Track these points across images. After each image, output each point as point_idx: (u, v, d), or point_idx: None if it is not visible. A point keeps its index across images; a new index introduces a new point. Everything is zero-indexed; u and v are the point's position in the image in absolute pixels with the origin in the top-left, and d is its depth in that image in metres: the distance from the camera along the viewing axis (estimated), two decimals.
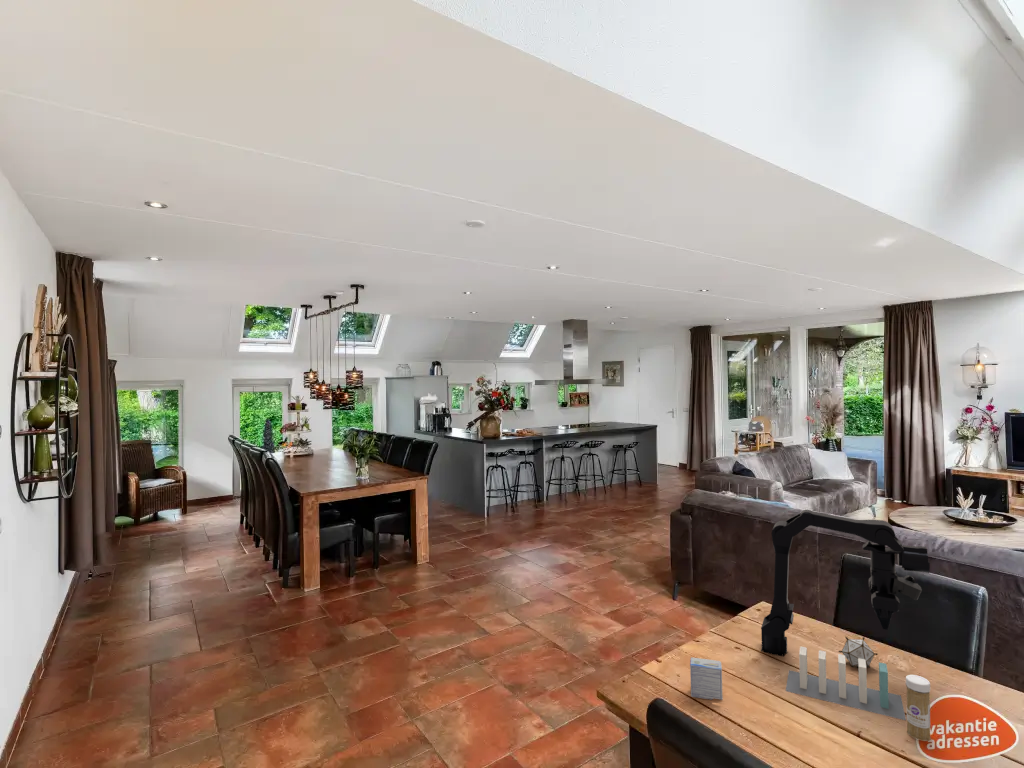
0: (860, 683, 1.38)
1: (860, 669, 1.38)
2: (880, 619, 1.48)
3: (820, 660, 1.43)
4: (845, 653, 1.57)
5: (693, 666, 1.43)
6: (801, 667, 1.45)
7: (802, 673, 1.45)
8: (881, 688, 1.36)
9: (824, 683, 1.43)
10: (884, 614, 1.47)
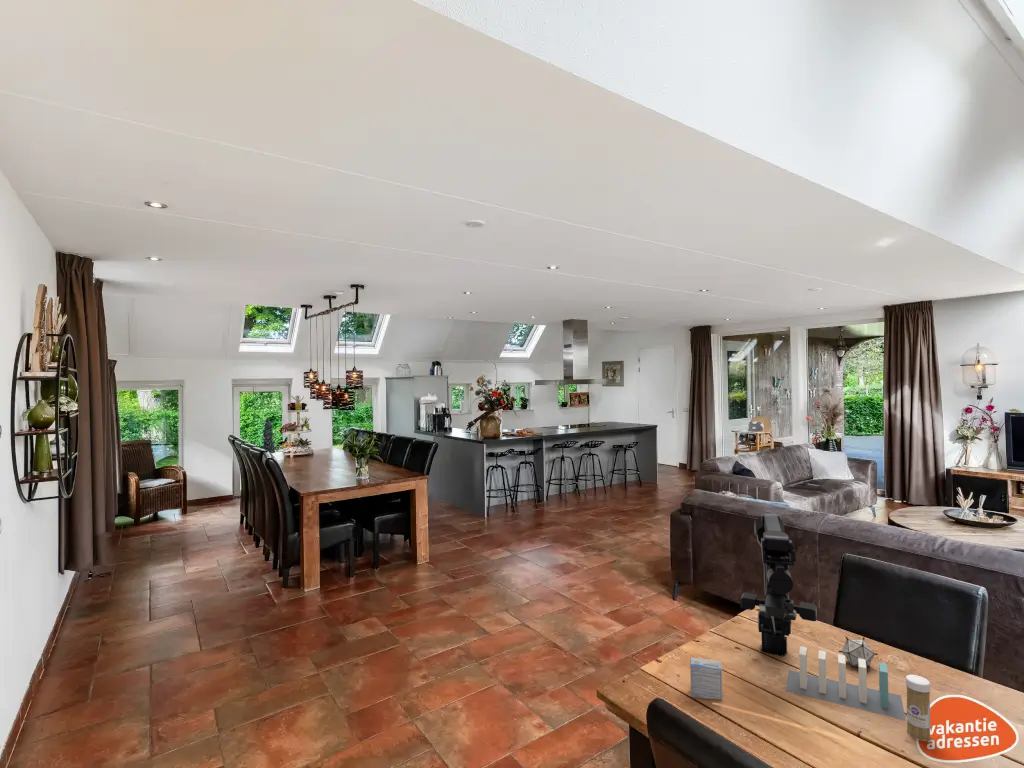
0: (860, 683, 1.38)
1: (860, 669, 1.38)
2: None
3: (820, 660, 1.43)
4: (845, 653, 1.57)
5: (693, 666, 1.43)
6: (801, 667, 1.45)
7: (802, 673, 1.45)
8: (881, 688, 1.36)
9: (824, 683, 1.43)
10: None
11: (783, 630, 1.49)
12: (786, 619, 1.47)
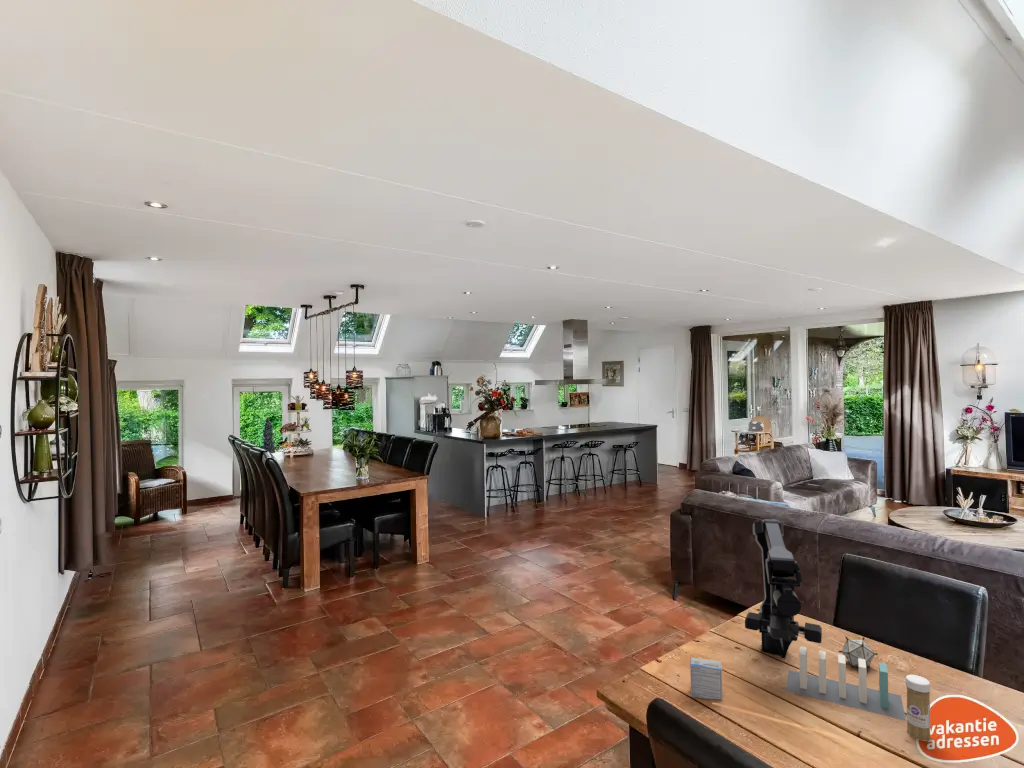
0: (860, 683, 1.38)
1: (860, 669, 1.38)
2: None
3: (820, 660, 1.43)
4: (845, 653, 1.57)
5: (693, 666, 1.43)
6: (801, 667, 1.45)
7: (802, 673, 1.45)
8: (881, 688, 1.36)
9: (824, 683, 1.43)
10: None
11: (784, 650, 1.49)
12: (787, 639, 1.47)
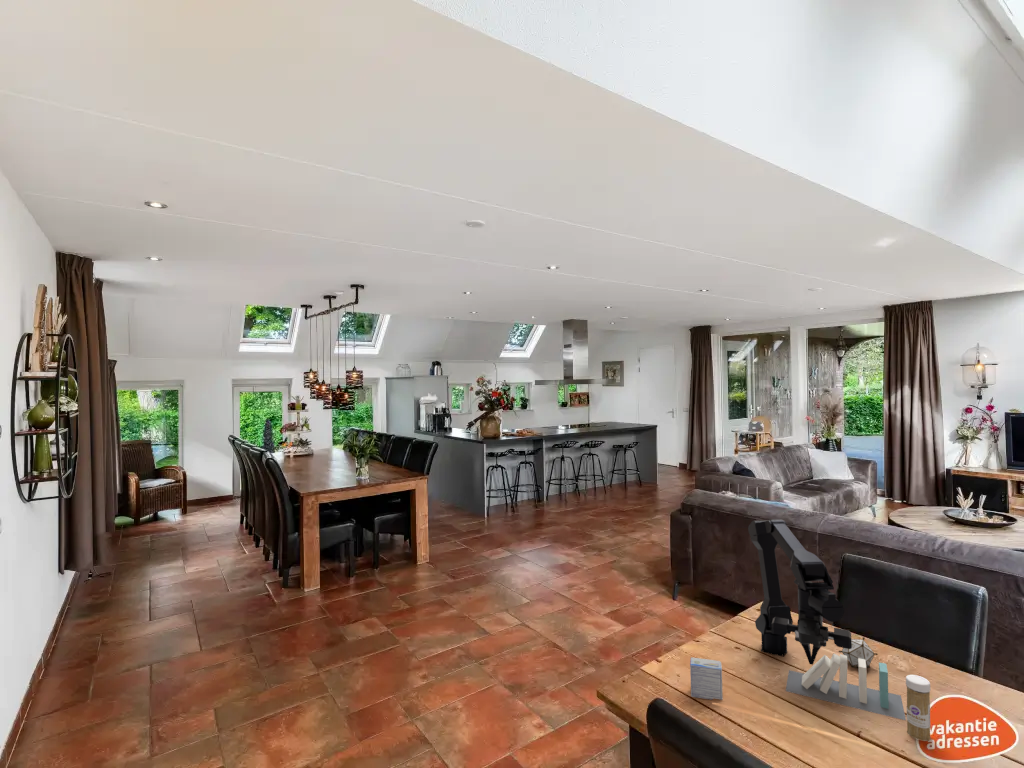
0: (860, 683, 1.38)
1: (860, 669, 1.38)
2: None
3: (834, 664, 1.41)
4: (845, 653, 1.57)
5: (693, 666, 1.43)
6: (817, 672, 1.43)
7: (814, 677, 1.44)
8: (881, 688, 1.36)
9: (829, 684, 1.42)
10: None
11: (813, 656, 1.45)
12: (816, 645, 1.43)
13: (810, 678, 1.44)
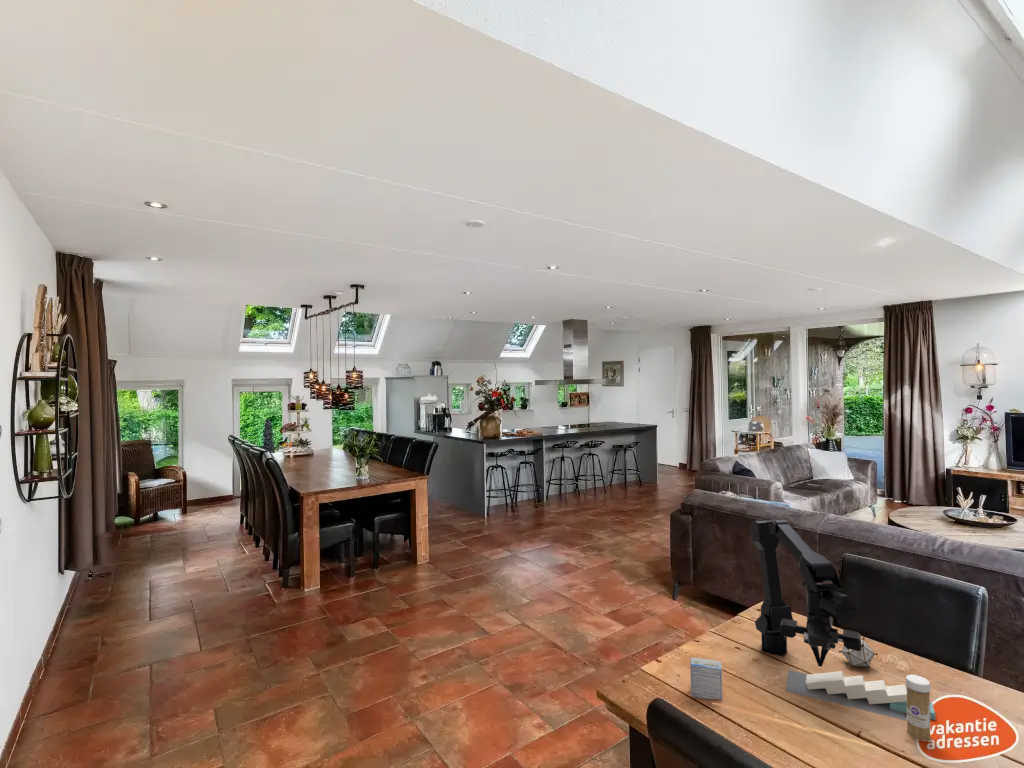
0: (888, 697, 1.35)
1: (904, 695, 1.34)
2: None
3: (862, 686, 1.38)
4: (845, 653, 1.57)
5: (693, 666, 1.43)
6: (828, 683, 1.42)
7: (822, 684, 1.43)
8: None
9: (838, 692, 1.41)
10: None
11: (822, 658, 1.44)
12: (825, 647, 1.42)
13: (818, 683, 1.43)
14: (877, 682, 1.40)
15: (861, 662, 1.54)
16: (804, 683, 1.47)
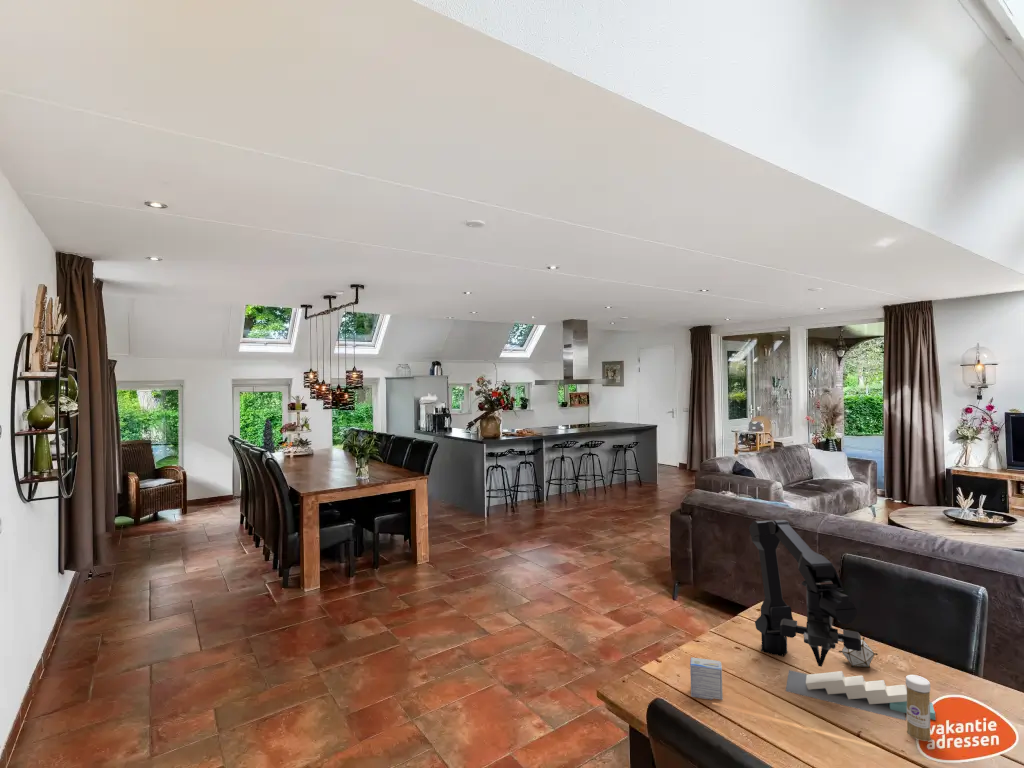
0: (888, 697, 1.35)
1: (904, 695, 1.34)
2: None
3: (862, 686, 1.38)
4: (845, 653, 1.57)
5: (693, 666, 1.43)
6: (828, 683, 1.42)
7: (822, 684, 1.43)
8: None
9: (838, 692, 1.41)
10: None
11: (822, 658, 1.44)
12: (825, 647, 1.42)
13: (818, 683, 1.43)
14: (877, 682, 1.40)
15: (861, 662, 1.54)
16: (804, 683, 1.47)
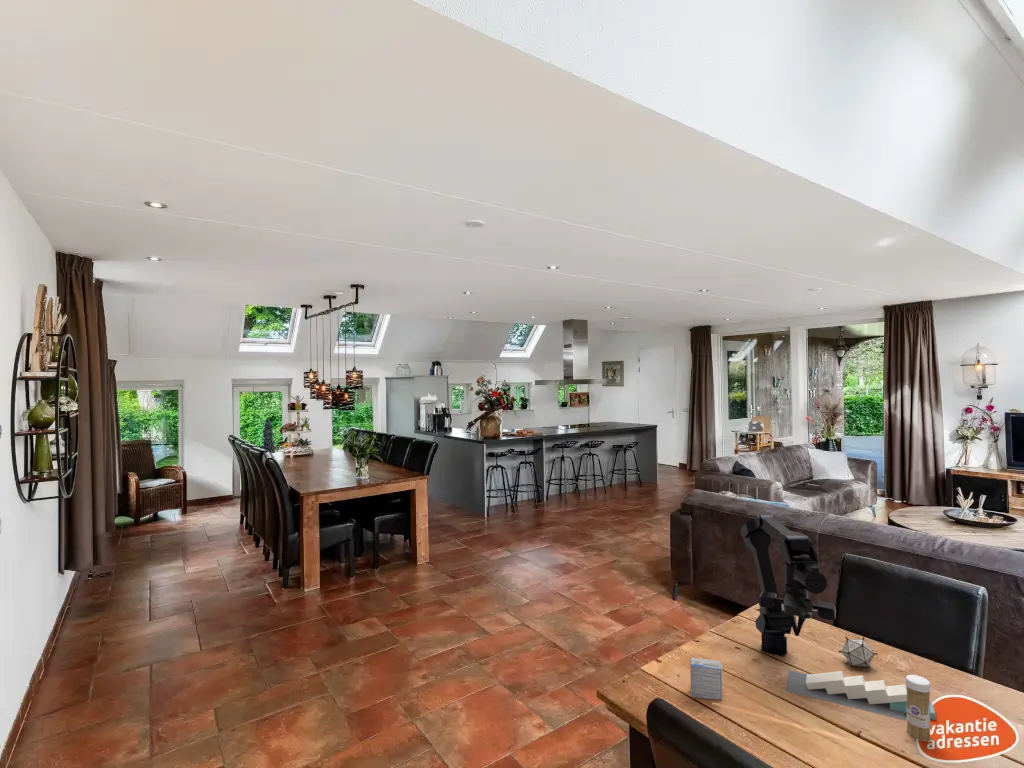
0: (888, 697, 1.35)
1: (904, 695, 1.34)
2: None
3: (862, 686, 1.38)
4: (845, 653, 1.57)
5: (693, 666, 1.43)
6: (828, 683, 1.42)
7: (822, 684, 1.43)
8: None
9: (838, 692, 1.41)
10: None
11: (798, 628, 1.51)
12: (801, 617, 1.49)
13: (818, 683, 1.43)
14: (877, 682, 1.40)
15: (861, 662, 1.54)
16: (804, 683, 1.47)
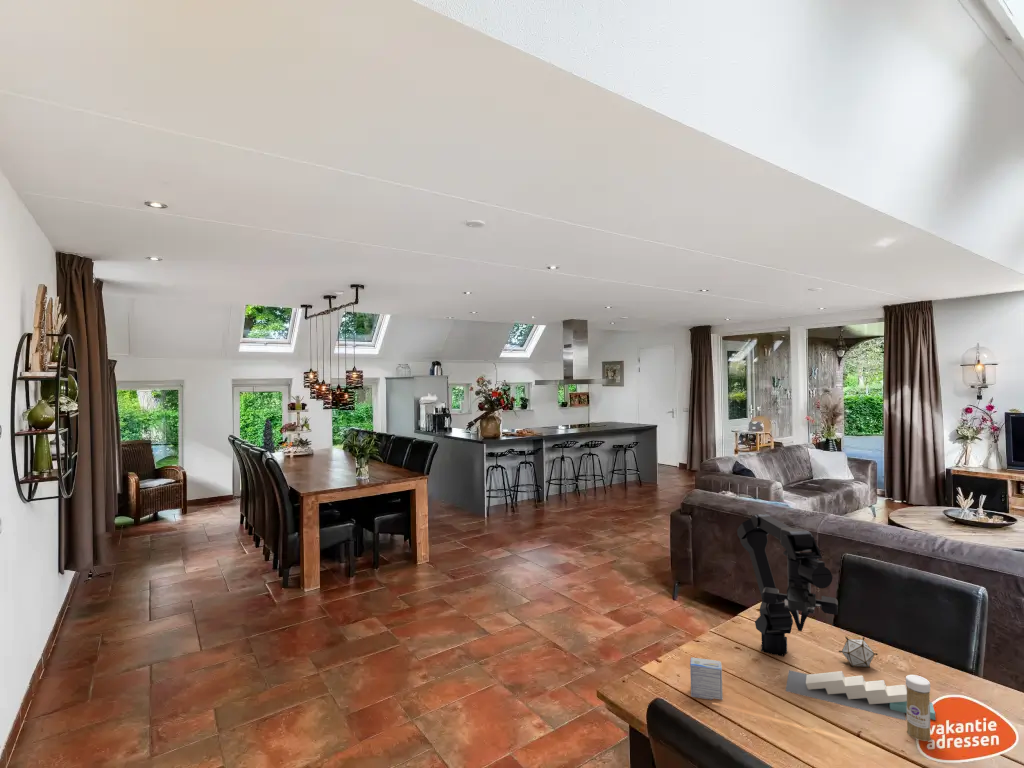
0: (888, 697, 1.35)
1: (904, 695, 1.34)
2: None
3: (862, 686, 1.38)
4: (845, 653, 1.57)
5: (693, 666, 1.43)
6: (828, 683, 1.42)
7: (822, 684, 1.43)
8: None
9: (838, 692, 1.41)
10: None
11: (801, 623, 1.52)
12: (804, 612, 1.50)
13: (818, 683, 1.43)
14: (877, 682, 1.40)
15: (861, 662, 1.54)
16: (804, 683, 1.47)
